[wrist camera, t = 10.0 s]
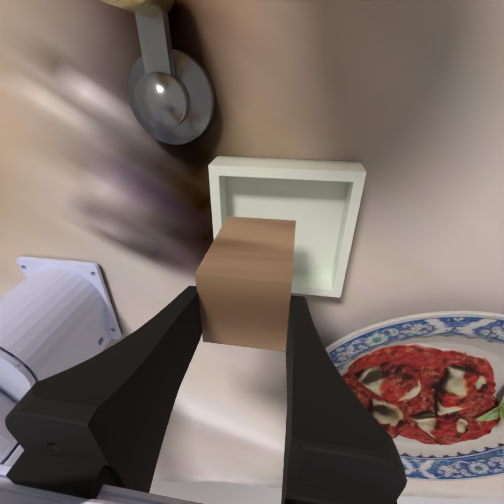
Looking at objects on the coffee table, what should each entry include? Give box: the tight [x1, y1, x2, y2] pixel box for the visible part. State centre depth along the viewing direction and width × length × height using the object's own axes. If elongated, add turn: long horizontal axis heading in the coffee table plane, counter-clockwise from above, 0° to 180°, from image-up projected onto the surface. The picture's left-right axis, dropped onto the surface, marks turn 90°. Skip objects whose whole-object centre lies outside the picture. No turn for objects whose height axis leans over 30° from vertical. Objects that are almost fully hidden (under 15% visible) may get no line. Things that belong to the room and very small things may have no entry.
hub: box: [128, 49, 216, 145], centre depth 18 cm, size 5×5×1 cm
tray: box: [208, 156, 367, 298], centre depth 20 cm, size 9×9×2 cm
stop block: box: [195, 216, 296, 352], centre depth 15 cm, size 4×4×6 cm
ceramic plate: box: [325, 311, 504, 481], centre depth 28 cm, size 26×26×3 cm
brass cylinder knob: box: [100, 0, 191, 130], centre depth 14 cm, size 8×3×4 cm, turn 0°
